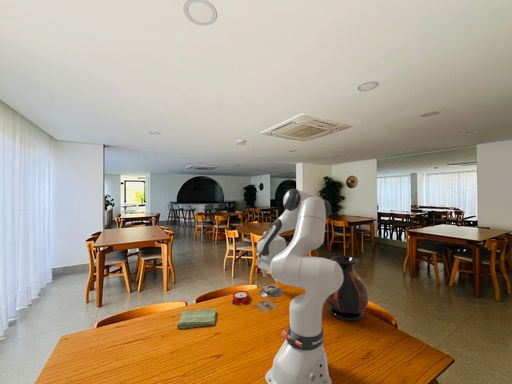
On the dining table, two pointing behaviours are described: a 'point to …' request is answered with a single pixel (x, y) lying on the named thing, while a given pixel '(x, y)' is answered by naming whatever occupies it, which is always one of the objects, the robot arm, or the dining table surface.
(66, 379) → the dining table surface
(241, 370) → the dining table surface
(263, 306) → the stand
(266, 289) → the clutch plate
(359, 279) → the amphora vase
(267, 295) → the hub
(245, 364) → the dining table surface
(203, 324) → the washcloth
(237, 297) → the alarm clock
